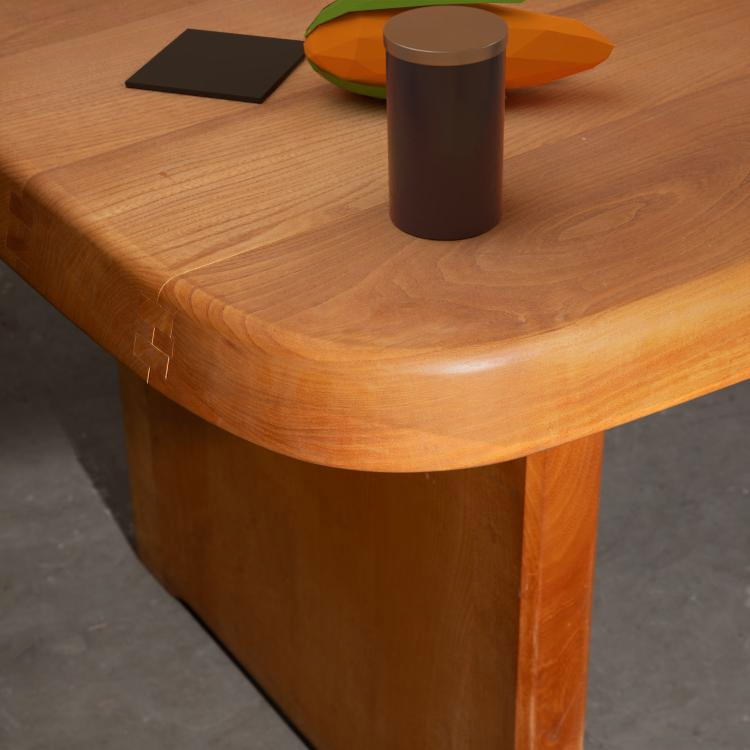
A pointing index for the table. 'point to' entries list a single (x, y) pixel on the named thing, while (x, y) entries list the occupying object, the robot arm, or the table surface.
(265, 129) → the table surface
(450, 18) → the tin
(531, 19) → the corn
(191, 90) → the coaster
